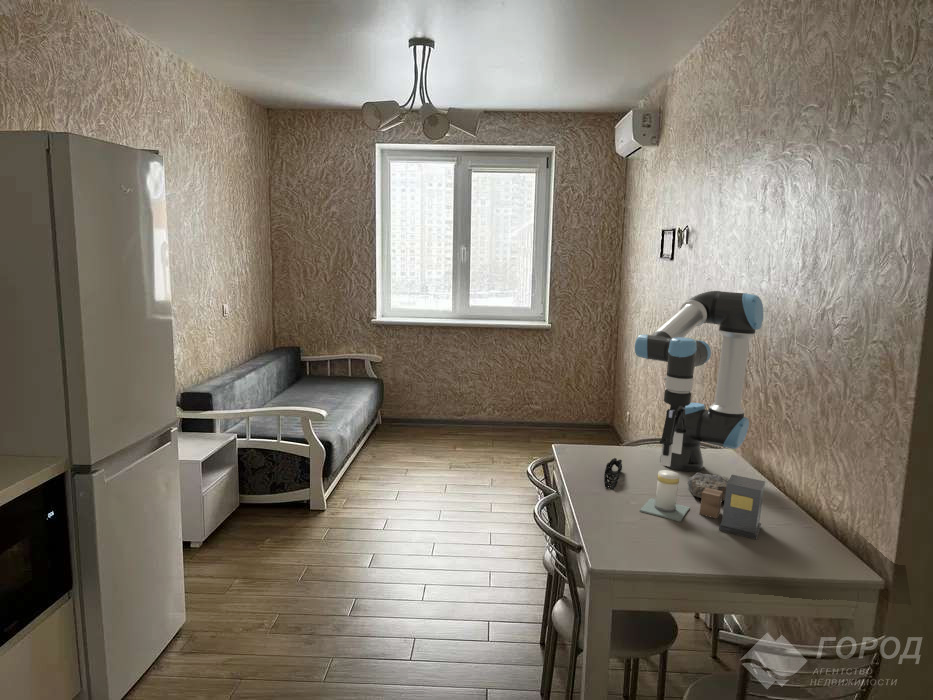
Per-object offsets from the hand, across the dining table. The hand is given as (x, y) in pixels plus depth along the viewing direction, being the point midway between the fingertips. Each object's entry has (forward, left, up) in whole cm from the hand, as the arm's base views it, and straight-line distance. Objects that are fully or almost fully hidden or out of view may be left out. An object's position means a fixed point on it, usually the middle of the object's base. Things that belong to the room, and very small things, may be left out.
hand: (671, 459), depth 202 cm
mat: (0, 0, -16) cm, 16 cm away
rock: (-21, +9, -16) cm, 28 cm away
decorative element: (-16, -22, -17) cm, 32 cm away
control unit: (0, +21, -16) cm, 27 cm away
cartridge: (0, 0, -16) cm, 16 cm away
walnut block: (-6, +12, -16) cm, 21 cm away
